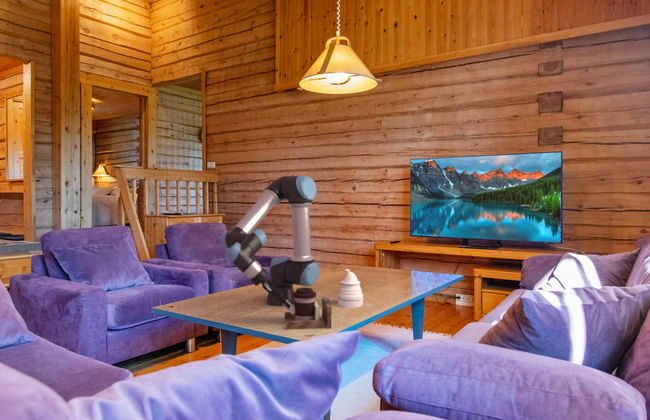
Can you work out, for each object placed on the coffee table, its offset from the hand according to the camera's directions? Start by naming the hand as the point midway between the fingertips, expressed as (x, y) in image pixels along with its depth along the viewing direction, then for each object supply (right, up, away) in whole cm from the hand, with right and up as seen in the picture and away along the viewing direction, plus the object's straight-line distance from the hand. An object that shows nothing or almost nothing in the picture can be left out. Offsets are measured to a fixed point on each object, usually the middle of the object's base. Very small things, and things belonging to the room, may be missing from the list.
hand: (294, 312), depth 198 cm
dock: (+5, -5, +1) cm, 8 cm away
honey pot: (+26, -4, +36) cm, 44 cm away
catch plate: (+9, -5, +2) cm, 10 cm away
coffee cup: (+4, -5, +1) cm, 7 cm away
